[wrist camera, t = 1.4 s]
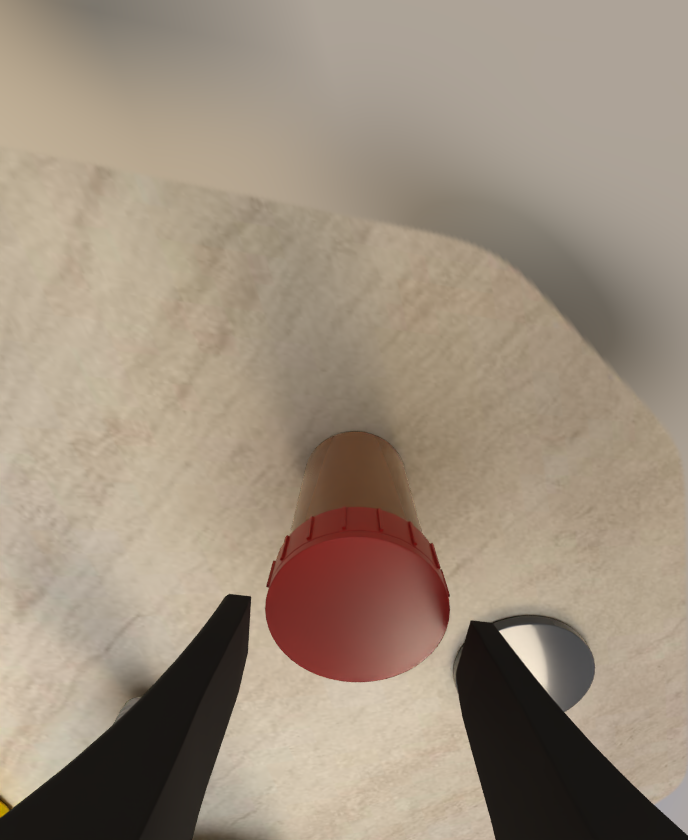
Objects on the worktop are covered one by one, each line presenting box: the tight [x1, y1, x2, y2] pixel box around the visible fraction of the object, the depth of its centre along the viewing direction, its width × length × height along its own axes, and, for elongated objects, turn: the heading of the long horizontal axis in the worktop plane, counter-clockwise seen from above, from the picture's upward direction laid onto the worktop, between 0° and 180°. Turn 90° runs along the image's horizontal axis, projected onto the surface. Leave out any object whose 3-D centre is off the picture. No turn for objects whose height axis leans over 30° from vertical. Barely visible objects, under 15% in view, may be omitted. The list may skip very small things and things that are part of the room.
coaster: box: [453, 616, 595, 712], centre depth 24 cm, size 8×8×1 cm
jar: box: [290, 432, 423, 534], centre depth 16 cm, size 5×5×8 cm
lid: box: [265, 506, 450, 682], centre depth 13 cm, size 6×6×2 cm
